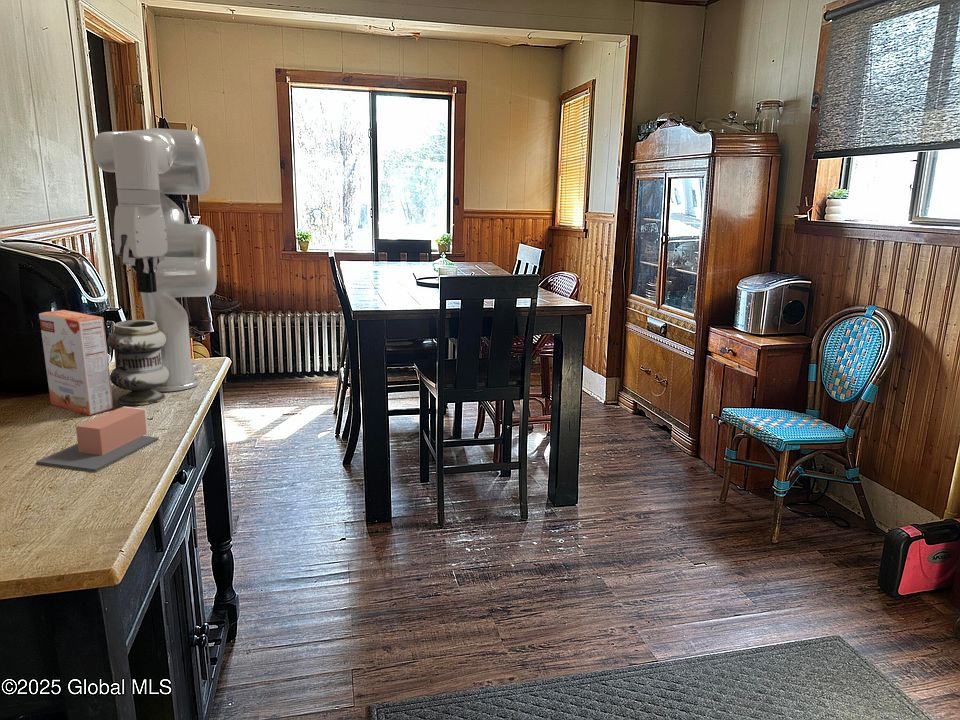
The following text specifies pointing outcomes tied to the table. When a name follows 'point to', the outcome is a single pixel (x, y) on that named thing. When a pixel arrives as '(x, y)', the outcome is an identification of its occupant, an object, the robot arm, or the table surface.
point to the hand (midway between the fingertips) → (147, 291)
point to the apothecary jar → (138, 361)
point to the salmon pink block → (111, 430)
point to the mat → (94, 456)
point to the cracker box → (76, 361)
